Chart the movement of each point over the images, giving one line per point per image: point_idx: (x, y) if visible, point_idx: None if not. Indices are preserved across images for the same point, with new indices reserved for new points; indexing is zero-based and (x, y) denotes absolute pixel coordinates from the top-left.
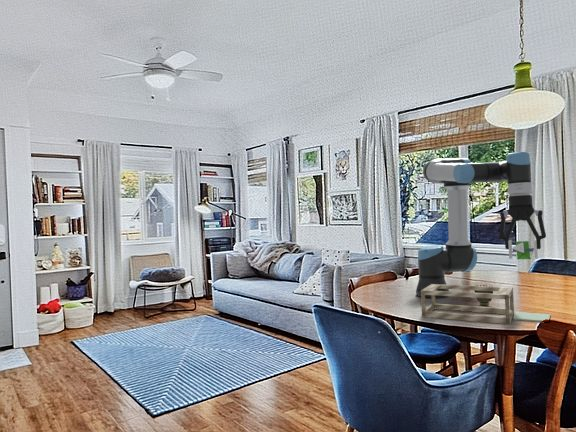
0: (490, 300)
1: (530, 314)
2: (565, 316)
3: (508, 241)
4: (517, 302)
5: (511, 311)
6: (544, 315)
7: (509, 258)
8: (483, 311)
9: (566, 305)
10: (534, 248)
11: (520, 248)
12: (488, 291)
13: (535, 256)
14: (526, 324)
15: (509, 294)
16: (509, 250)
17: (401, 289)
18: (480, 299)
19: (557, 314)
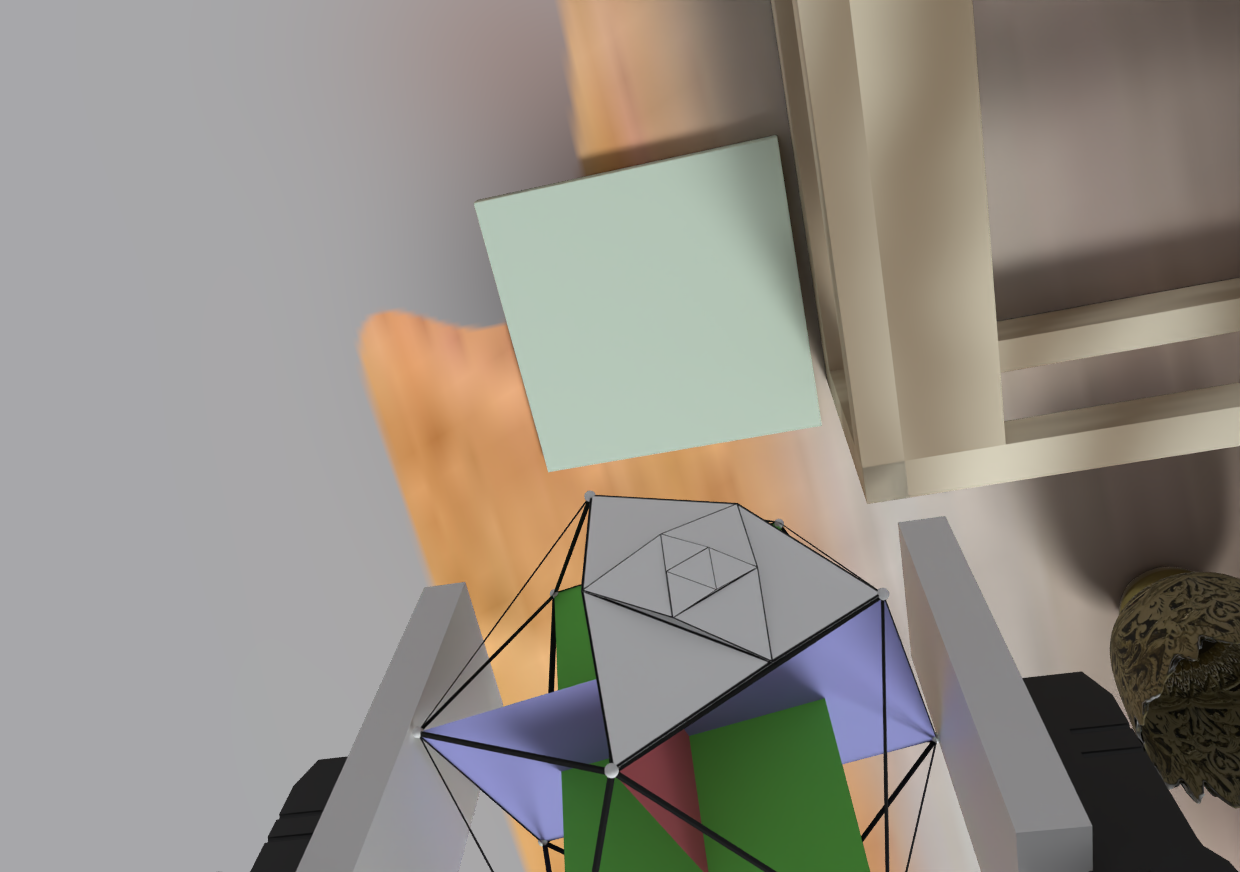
0: (1117, 618)
1: (682, 383)
2: (448, 504)
3: (1076, 802)
4: (909, 825)
5: (826, 269)
6: (571, 402)
7: (940, 520)
8: (1116, 305)
9: (555, 858)
10: (406, 723)
11: (666, 544)
12: (1170, 642)
13: (442, 611)
14: (622, 15)
15: (802, 45)
16: (977, 623)
17: None
18: (1220, 574)
19: (519, 544)
